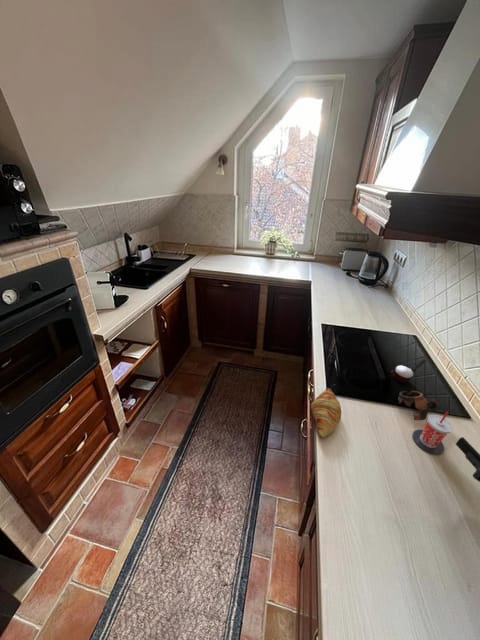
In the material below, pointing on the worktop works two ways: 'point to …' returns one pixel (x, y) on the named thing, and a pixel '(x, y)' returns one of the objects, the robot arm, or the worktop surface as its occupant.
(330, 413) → the croissant
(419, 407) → the pottery mug
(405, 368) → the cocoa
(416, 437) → the slate coaster
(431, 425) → the beverage cup
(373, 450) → the worktop surface
